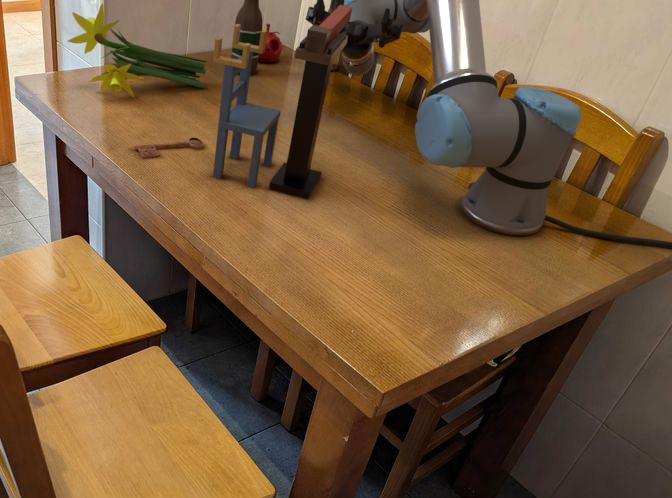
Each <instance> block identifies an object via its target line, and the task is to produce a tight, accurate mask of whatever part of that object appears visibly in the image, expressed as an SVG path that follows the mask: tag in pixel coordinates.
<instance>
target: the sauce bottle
mask: <svg viewBox="0 0 672 498" xmlns="http://www.w3.org/2000/svg"><path fill="white" fill-rule="evenodd" d="M340 5H344V0H330V4H329V8H328V10H327V12H329V13H330V14H332V13H333V12H334V11H335V10H336V9H337V8H338V7H339V6H340ZM340 57H341V52H340V53H339V54H338V55H337V57H336V58H335V59H334V60H333V63H332V67H331V72H332V71H336V70H337V69H338V65H339V62H340Z"/></svg>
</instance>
